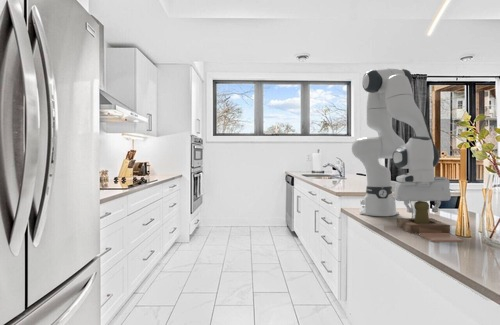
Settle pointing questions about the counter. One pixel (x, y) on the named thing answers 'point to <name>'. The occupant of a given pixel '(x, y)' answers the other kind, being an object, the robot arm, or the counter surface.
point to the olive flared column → (421, 212)
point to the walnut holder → (423, 226)
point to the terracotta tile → (440, 237)
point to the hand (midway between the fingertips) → (422, 212)
